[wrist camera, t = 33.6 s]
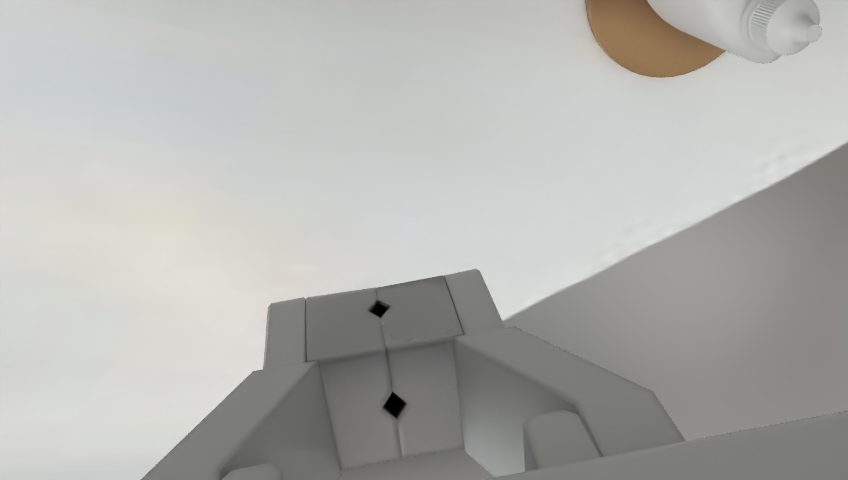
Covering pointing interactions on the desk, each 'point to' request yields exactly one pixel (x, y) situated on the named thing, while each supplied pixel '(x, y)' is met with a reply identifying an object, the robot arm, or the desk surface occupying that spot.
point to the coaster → (646, 39)
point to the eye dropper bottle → (746, 24)
